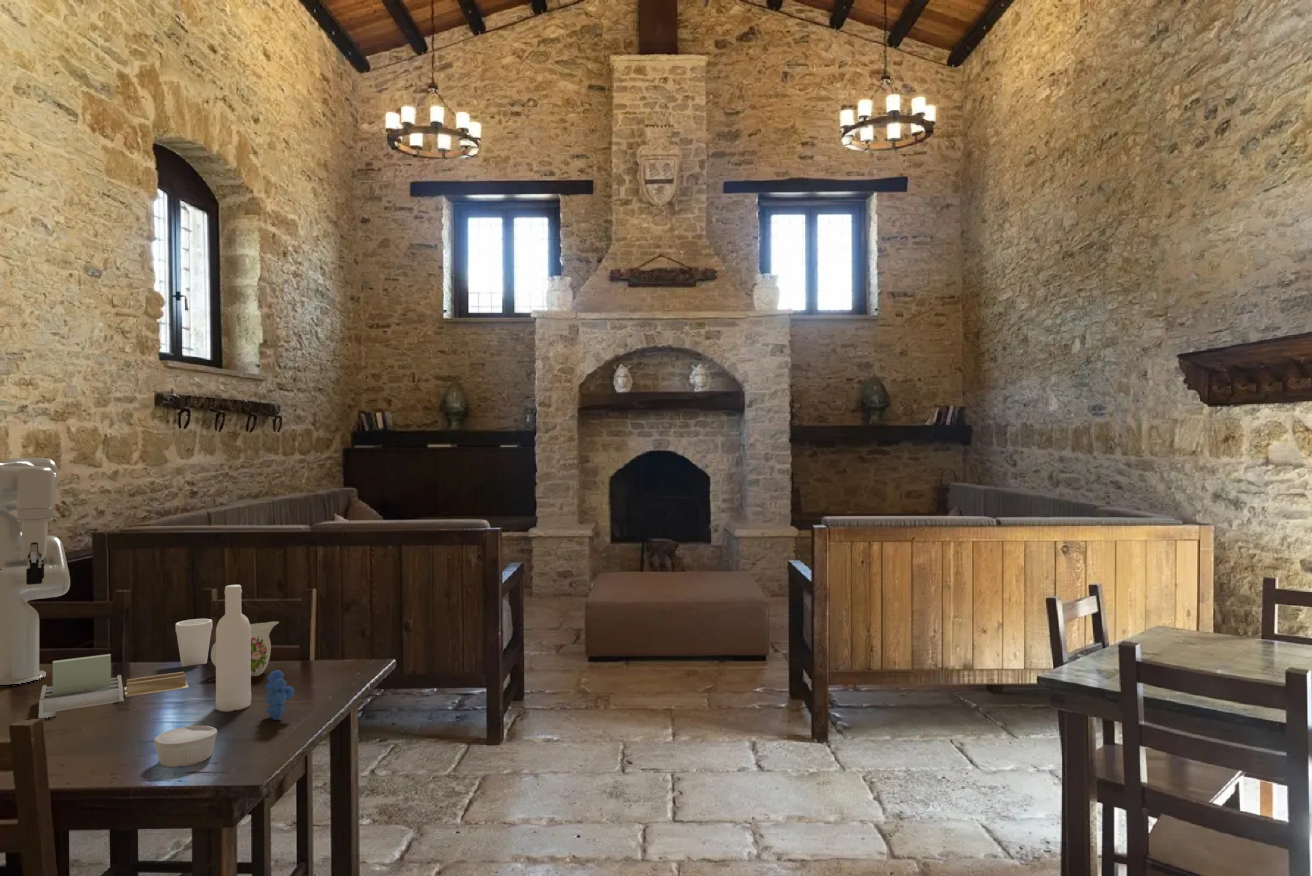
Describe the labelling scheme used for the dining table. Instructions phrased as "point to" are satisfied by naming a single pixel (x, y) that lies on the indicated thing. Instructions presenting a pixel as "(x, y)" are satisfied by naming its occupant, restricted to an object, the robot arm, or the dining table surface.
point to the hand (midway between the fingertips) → (35, 581)
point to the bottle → (233, 655)
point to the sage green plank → (81, 673)
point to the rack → (79, 698)
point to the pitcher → (256, 647)
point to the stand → (155, 684)
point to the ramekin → (185, 745)
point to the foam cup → (193, 641)
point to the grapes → (277, 694)
